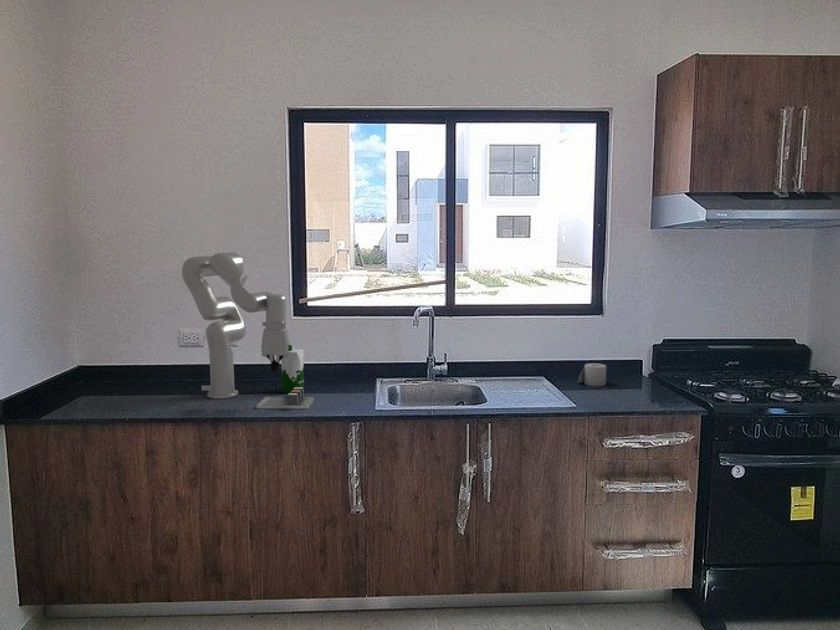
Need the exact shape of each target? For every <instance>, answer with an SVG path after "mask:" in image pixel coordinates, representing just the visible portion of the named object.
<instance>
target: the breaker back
mask: <svg viewBox="0 0 840 630" xmlns="http://www.w3.org/2000/svg"><path fill="white" fill-rule="evenodd" d="M304 388H305V387H304ZM304 388H303V387H295V388H293V390H300V391H301V398H303V397H305V390H304Z"/></svg>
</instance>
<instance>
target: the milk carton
mask: <svg viewBox="0 0 840 630" xmlns="http://www.w3.org/2000/svg"><path fill="white" fill-rule="evenodd" d="M288 353H289V357H287V358H282V359H281V360H280V362H281V363H280V367H281V392H282V394H283V393H285V394H289V393H290V392H291V391H292V390H293V388H295V387H303V388H305V385H304V384H305V376H304V375H305V374H304V373H305V372H304V349H302V348H293V345H291V344H289V351H288Z"/></svg>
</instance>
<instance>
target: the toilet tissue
mask: <svg viewBox="0 0 840 630" xmlns="http://www.w3.org/2000/svg"><path fill="white" fill-rule="evenodd" d="M577 381H578V382H577V384H581V383H583V384H584V385H586V386H591V387H605V386H606V382H607V365H606V364H603V363H597V362H596V363H593V362H591V363H585V364H584V367H583V368H582V370H581V372H580V373H579V376H578V380H577Z"/></svg>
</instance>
